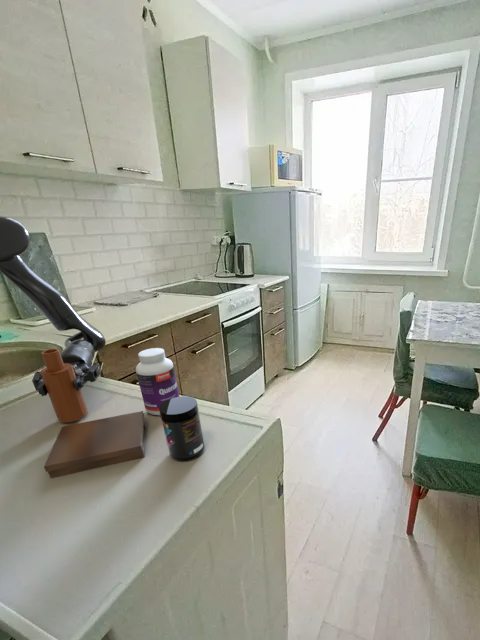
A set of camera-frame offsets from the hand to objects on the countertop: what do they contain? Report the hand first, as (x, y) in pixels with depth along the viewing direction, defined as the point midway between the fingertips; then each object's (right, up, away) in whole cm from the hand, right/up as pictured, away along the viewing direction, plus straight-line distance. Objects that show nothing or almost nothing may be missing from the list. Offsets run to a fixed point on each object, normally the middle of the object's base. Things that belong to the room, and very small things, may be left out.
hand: (59, 389), depth 77 cm
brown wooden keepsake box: (+12, -12, -6) cm, 18 cm away
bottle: (0, -6, +6) cm, 8 cm away
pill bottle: (+20, -5, +8) cm, 22 cm away
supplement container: (+30, -12, -8) cm, 33 cm away
